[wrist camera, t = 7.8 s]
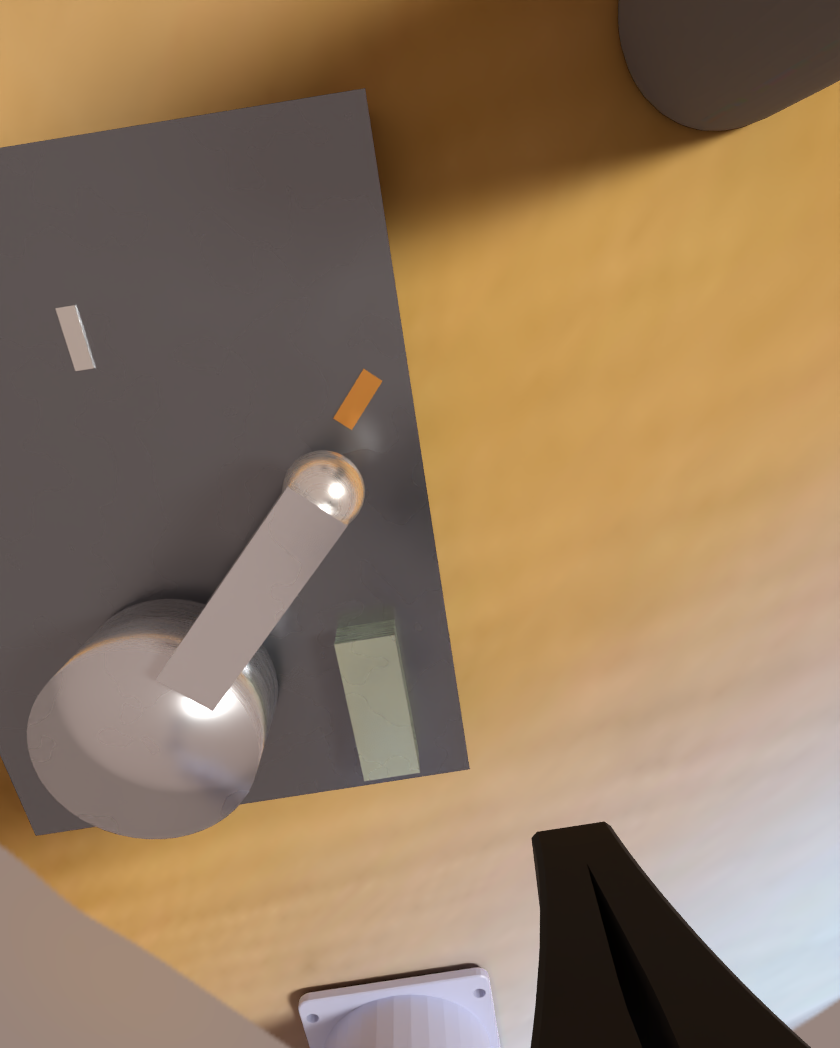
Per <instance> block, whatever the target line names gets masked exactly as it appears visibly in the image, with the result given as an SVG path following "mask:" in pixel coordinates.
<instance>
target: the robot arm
mask: <svg viewBox="0 0 840 1048" xmlns="http://www.w3.org/2000/svg"><path fill="white" fill-rule="evenodd" d="M532 846H533V854H534V862H535V871H536V879H537V887H538V895H539V904H540V951H539V967H538V980H537V993H536V1006H535V1015H534V1025H533V1033H532V1041H531V1048H811V1047H810V1046H808V1045H807V1044H806V1043H805V1042H804V1041H803V1040H802V1039H801V1038H800V1037H798V1036H797V1035H796V1034H795V1033H794V1032H793V1031H792V1030H791V1029H790V1028H789V1027H788V1026H787V1025H786V1024H785V1023H784V1022H783V1021H781V1020H780V1019H779V1018H778V1017H777V1016H776V1015H775V1014H774V1013H773V1012H772V1011H771V1010H770V1009H769V1008H768V1007H767V1006H766V1005H765V1004H764V1003H763V1002H762V1001H761V1000H760V999H759V998H757V997H756V996H755V995H754V994H753V993H752V992H751V991H750V990H749V989H748V988H747V987H746V986H745V985H744V984H743V983H742V982H741V981H740V979H739V978H738V977H737V976H736V975H735V974H734V973H733V972H732V971H731V970H730V969H729V968H728V967H727V966H726V965H725V964H724V963H723V962H722V961H721V960H720V959H719V958H718V957H717V955H716V954H715V953H714V952H713V951H712V950H711V949H710V948H709V947H708V946H707V945H706V944H705V943H704V941H703V940H702V939H701V938H700V937H699V936H698V935H697V934H696V933H695V931H694V930H693V929H692V928H691V927H690V926H689V925H688V923H687V922H686V921H685V920H684V919H683V918H682V917H681V915H680V914H679V913H678V912H677V911H676V910H675V909H674V907H673V906H672V905H671V904H670V903H669V902H668V900H667V899H666V898H665V897H664V896H663V894H662V893H661V892H660V891H659V890H658V888H657V887H656V886H655V885H654V883H653V882H652V881H651V880H650V878H649V877H648V876H647V875H646V873H645V872H644V871H643V870H642V868H641V867H640V866H639V865H638V863H637V862H636V861H635V859H634V858H633V857H632V855H631V854H630V853H629V851H628V850H627V849H626V847H625V846H624V845H623V843H622V842H621V840H620V839H619V838H618V836H617V835H616V833H615V832H614V830H613V829H612V827H611V826H610V825H608V824H607V823H606V822H599V823H592V824H586V825H579V826H573V827H566V828H560V829H553V830H546V831H540V832H537V833H536V834H535V835H534V836H533V837H532ZM298 1011H299V1014H300V1017H301V1021H302V1024H303V1027H304V1031H305V1034H306V1037H307V1040H308V1044H309V1047H310V1048H501V1047H500V1041H499V1035H498V1029H497V1023H496V1016H495V1010H494V1004H493V998H492V992H491V986H490V979H489V974H488V972H487V971H486V970H485V969H483V968H480V967H475V968H469V969H462V970H455V971H449V972H442V973H436V974H429V975H422V976H416V977H409V978H402V979H396V980H389V981H382V982H376V983H369V984H363V985H356V986H349V987H343V988H336V989H329V990H323V991H316V992H310V993H306V994H304V995H303V996H301V998H300V1000H299V1006H298Z"/></svg>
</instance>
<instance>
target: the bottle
mask: <svg viewBox="0 0 840 1048" xmlns="http://www.w3.org/2000/svg"><path fill="white" fill-rule="evenodd" d="M618 24H619V36H620V41H621V47H622V50H623V53H624V56H625V60H626V63H627V66H628V69H629V71H630V73H631V75H632V78H633V80H634V82H635V83H636V85H637V86H638V88H639V89H640V91H641V93H642V94H643V96H644V97H645V98H646V99H647V100H648V101H649V102H650V103H651V104H652V105H653V106H654V107H656V108H657V109H658V110H659V111H660V112H661V113H662V114H663V115H665V116H667V117H669V118H670V119H672V120H674V121H675V122H677V123H679V124H682V125H684V126H687V127H691V128H695V129H699V130H712V131H723V130H729V129H735V128H741V127H744V126H746V125H749V124H752V123H754V122H757V121H760V120H762V119H765V118H767V117H769V116H771V115H773V114H775V113H777V112H779V111H781V110H783V109H785V108H787V107H789V106H791V105H793V104H795V103H797V102H798V101H800V100H802V99H804V98H806V97H808V96H810V95H812V94H814V93H816V92H818V91H820V90H822V89H824V88H826V87H828V86H830V85H832V84H834V83H836V82H837V81H839V80H840V0H619V5H618Z"/></svg>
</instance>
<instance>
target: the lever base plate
mask: <svg viewBox="0 0 840 1048" xmlns="http://www.w3.org/2000/svg"><path fill="white" fill-rule="evenodd" d="M320 450H328V451H333V452H337V453H339V454H342V455H343V456H345V457H347V458H348V459H349V460H351V461H352V462H353V463H354V464H355V466H356V467H357V468H358V470H359V471H360V473H361V475H362V478H363V481H364V487H365V497H364V502H363V505H362V507H361V510H360V512H359V513H358V515H357V516H356V517H355V518H354V520H352V521H351V522H350V523H349V524H348V526H347V527H346V529H345V530H344V532H343V533H342V534H341V536H340V537H339V538H338V540H337V541H336V543H335V544H334V545H333V547H332V548H331V550H330V551H329V552H328V554H327V555H326V556H325V558H324V559H323V561H322V562H321V563H320V565H319V566H318V567H317V569H316V570H315V572H314V573H313V574H312V576H311V577H310V578H309V580H308V581H307V583H306V584H305V585H304V587H303V588H302V589H301V591H300V592H299V594H298V595H297V596H296V598H295V599H294V601H293V602H292V603H291V605H290V606H289V607H288V609H287V610H286V612H285V613H284V614H283V616H282V617H281V618H280V620H279V621H278V623H277V624H276V625H275V627H274V628H273V629H272V631H271V632H270V634H269V635H268V636H267V638H266V639H265V640H264V642H263V643H262V644H263V646H264V647H265V649H266V650H267V652H268V654H269V656H270V658H271V660H272V663H273V665H274V668H275V671H276V676H277V682H278V697H277V705H276V708H275V712H274V715H273V719H272V722H271V725H270V729H269V732H268V735H267V739H266V742H265V745H264V749H263V752H262V756H261V759H260V762H259V766H258V769H257V772H256V776H255V779H254V782H253V784H252V786H251V788H250V790H249V792H248V793H247V795H246V796H245V798H244V800H243V801H242V802H241V803H240V804H246V803H252V802H259V801H265V800H272V799H278V798H285V797H291V796H298V795H304V794H311V793H317V792H324V791H330V790H337V789H344V788H350V787H357V786H363V785H370V784H376V783H383V782H389V781H396V780H402V779H409V778H415V777H422V776H428V775H435V774H441V773H448V772H454V771H461V770H467V769H470V768H469V762H468V755H467V749H466V742H465V736H464V729H463V723H462V716H461V710H460V703H459V697H458V690H457V684H456V677H455V671H454V664H453V658H452V651H451V645H450V638H449V632H448V625H447V619H446V612H445V606H444V599H443V593H442V586H441V580H440V573H439V567H438V560H437V554H436V547H435V540H434V534H433V527H432V521H431V514H430V508H429V501H428V495H427V488H426V482H425V475H424V469H423V462H422V456H421V449H420V443H419V436H418V430H417V423H416V417H415V410H414V404H413V397H412V391H411V384H410V378H409V371H408V365H407V358H406V352H405V345H404V339H403V332H402V326H401V319H400V313H399V306H398V300H397V293H396V287H395V280H394V274H393V267H392V260H391V254H390V247H389V241H388V234H387V228H386V221H385V215H384V208H383V202H382V195H381V189H380V182H379V176H378V169H377V163H376V156H375V150H374V143H373V137H372V130H371V124H370V117H369V111H368V104H367V98H366V91H365V88H364V89H358V90H352V91H346V92H340V93H333V94H327V95H321V96H315V97H309V98H303V99H297V100H291V101H284V102H278V103H272V104H266V105H260V106H254V107H248V108H242V109H235V110H229V111H223V112H217V113H211V114H205V115H199V116H193V117H186V118H180V119H174V120H168V121H162V122H156V123H150V124H144V125H137V126H131V127H125V128H119V129H113V130H107V131H101V132H95V133H88V134H82V135H76V136H70V137H64V138H58V139H52V140H46V141H39V142H33V143H27V144H21V145H15V146H9V147H3V148H0V756H1V758H2V760H3V763H4V765H5V767H6V769H7V772H8V774H9V776H10V778H11V781H12V783H13V785H14V787H15V790H16V792H17V794H18V796H19V799H20V801H21V803H22V806H23V808H24V810H25V812H26V815H27V817H28V819H29V821H30V824H31V826H32V828H33V830H34V833H35V835H36V836H37V835H44V834H50V833H57V832H63V831H70V830H77V829H83V828H90V827H96V826H93V825H91V824H89V823H88V822H86V821H84V820H82V819H80V818H79V817H77V816H76V815H74V814H73V813H71V812H70V811H69V810H67V809H66V808H65V807H64V806H63V805H61V804H60V803H59V802H58V801H57V800H56V799H55V798H54V797H53V796H52V795H51V793H50V792H49V791H48V790H47V789H46V787H45V786H44V784H43V783H42V782H41V780H40V779H39V777H38V775H37V773H36V771H35V769H34V767H33V764H32V761H31V758H30V755H29V750H28V744H27V727H28V720H29V716H30V712H31V709H32V706H33V704H34V702H35V700H36V698H37V696H38V695H39V693H40V692H41V691H42V689H43V688H44V687H45V685H46V684H47V683H48V682H49V681H50V680H51V679H52V678H53V677H54V675H55V674H56V673H57V672H58V671H59V670H60V669H61V668H62V667H63V666H64V665H65V664H66V663H67V662H68V661H69V659H70V658H71V657H72V656H73V655H74V654H75V653H76V652H77V651H78V650H79V649H80V648H81V647H82V646H83V645H84V644H85V642H86V641H87V640H88V639H89V638H90V637H91V636H92V635H93V634H94V633H95V632H96V631H97V630H98V629H99V628H100V627H101V626H102V625H103V624H104V623H105V622H106V621H107V620H108V619H110V618H111V617H112V616H114V615H115V614H116V613H118V612H120V611H122V610H124V609H126V608H128V607H130V606H133V605H136V604H139V603H142V602H147V601H151V600H159V599H183V600H190V601H195V602H199V603H203V604H206V603H207V601H208V600H209V599H210V597H211V596H212V594H213V593H214V591H215V590H216V588H217V587H218V585H219V584H220V582H221V581H222V580H223V578H224V577H225V575H226V574H227V572H228V571H229V569H230V568H231V566H232V565H233V563H234V562H235V560H236V559H237V558H238V556H239V555H240V553H241V552H242V550H243V549H244V547H245V546H246V544H247V543H248V541H249V540H250V539H251V537H252V536H253V534H254V533H255V531H256V530H257V528H258V527H259V525H260V524H261V522H262V521H263V519H264V518H265V517H266V515H267V514H268V512H269V511H270V509H271V508H272V506H273V505H274V503H275V502H276V500H277V499H278V498H279V496H280V495H281V493H282V487H283V481H284V478H285V475H286V473H287V471H288V469H289V468H290V466H291V465H292V464H293V463H294V462H295V461H296V460H297V459H299V458H300V457H301V456H303V455H305V454H307V453H310V452H313V451H320Z"/></svg>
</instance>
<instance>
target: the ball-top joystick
mask: <svg viewBox="0 0 840 1048" xmlns="http://www.w3.org/2000/svg"><path fill="white" fill-rule="evenodd" d="M364 497H365V487H364V481H363V478H362V475H361V473H360V471H359V470H358V468H357V467H356V466H355V464H354V463H353V462H352V461H351V460H349V459H348V458H347V457H345V456H343V455H342V454H339V453H337V452H333V451H328V450H320V451H313V452H310V453H307V454H305V455H303V456H301V457H300V458H299V459H297V460H296V461H295V462H294V463H293V464H292V465H291V466H290V468H289V469H288V471H287V473H286V475H285V478H284V481H283V487H282V493H281V495H280V496H279V498H278V499H277V500H276V502H275V503H274V505H273V506H272V508H271V509H270V511H269V512H268V514H267V515H266V517H265V518H264V519H263V521H262V522H261V524H260V525H259V527H258V528H257V530H256V531H255V533H254V534H253V536H252V537H251V539H250V540H249V541H248V543H247V544H246V546H245V547H244V549H243V550H242V552H241V553H240V555H239V556H238V558H237V559H236V560H235V562H234V563H233V565H232V566H231V568H230V569H229V571H228V572H227V574H226V575H225V577H224V578H223V580H222V581H221V582H220V584H219V585H218V587H217V588H216V590H215V591H214V593H213V594H212V596H211V597H210V599H209V600H208V601H207V603H206V604H203V603H199V602H195V601H190V600H183V599H159V600H151V601H147V602H142V603H139V604H136V605H133V606H130V607H128V608H126V609H124V610H122V611H120V612H118V613H116V614H115V615H114V616H112V617H111V618H110V619H108V620H107V621H106V622H105V623H104V624H103V625H102V626H101V627H100V628H99V629H98V630H97V631H96V632H95V633H94V634H93V635H92V636H91V637H90V638H89V639H88V640H87V641H86V642H85V644H84V645H83V646H82V647H81V648H80V649H79V650H78V651H77V652H76V653H75V654H74V655H73V656H72V657H71V658H70V659H69V661H68V662H67V663H66V664H65V665H64V666H63V667H62V668H61V669H60V670H59V671H58V672H57V673H56V674H55V675H54V677H53V678H52V679H51V680H50V681H49V682H48V683H47V684H46V685H45V687H44V688H43V689H42V691H41V692H40V693H39V695H38V696H37V698H36V700H35V702H34V704H33V706H32V709H31V712H30V716H29V720H28V727H27V744H28V750H29V755H30V758H31V761H32V764H33V767H34V769H35V771H36V773H37V775H38V777H39V779H40V780H41V782H42V783H43V784H44V786H45V787H46V789H47V790H48V791H49V792H50V793H51V795H52V796H53V797H54V798H55V799H56V800H57V801H58V802H59V803H60V804H61V805H63V806H64V807H65V808H66V809H67V810H69V811H70V812H71V813H73V814H74V815H76V816H77V817H79V818H80V819H82V820H84V821H86V822H88V823H89V824H91V825H93V826H96V827H98V828H101V829H103V830H105V831H109V832H112V833H115V834H118V835H123V836H128V837H133V838H142V839H167V838H176V837H181V836H186V835H190V834H193V833H196V832H199V831H202V830H204V829H206V828H208V827H211V826H213V825H215V824H216V823H218V822H219V821H221V820H222V819H224V818H225V817H227V816H228V815H229V814H230V813H231V812H233V811H234V810H235V809H236V808H237V807H238V805H239V804H240V803H241V802H242V801H243V800H244V798H245V796H246V795H247V793H248V792H249V790H250V788H251V786H252V784H253V782H254V779H255V776H256V772H257V769H258V766H259V762H260V759H261V756H262V752H263V749H264V745H265V742H266V739H267V735H268V732H269V729H270V725H271V722H272V719H273V715H274V712H275V708H276V705H277V697H278V682H277V676H276V671H275V668H274V665H273V663H272V660H271V658H270V656H269V654H268V652H267V650H266V649H265V647H264V646H263V644H262V643H263V642H264V640H265V639H266V638H267V636H268V635H269V634H270V632H271V631H272V629H273V628H274V627H275V625H276V624H277V623H278V621H279V620H280V618H281V617H282V616H283V614H284V613H285V612H286V610H287V609H288V607H289V606H290V605H291V603H292V602H293V601H294V599H295V598H296V596H297V595H298V594H299V592H300V591H301V589H302V588H303V587H304V585H305V584H306V583H307V581H308V580H309V578H310V577H311V576H312V574H313V573H314V572H315V570H316V569H317V567H318V566H319V565H320V563H321V562H322V561H323V559H324V558H325V556H326V555H327V554H328V552H329V551H330V550H331V548H332V547H333V545H334V544H335V543H336V541H337V540H338V538H339V537H340V536H341V534H342V533H343V532H344V530H345V529H346V527H347V526H348V524H349V523H350V522H351V521H352V520H354V518H355V517H356V516H357V515H358V513H359V512H360V510H361V507H362V505H363V502H364Z"/></svg>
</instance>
